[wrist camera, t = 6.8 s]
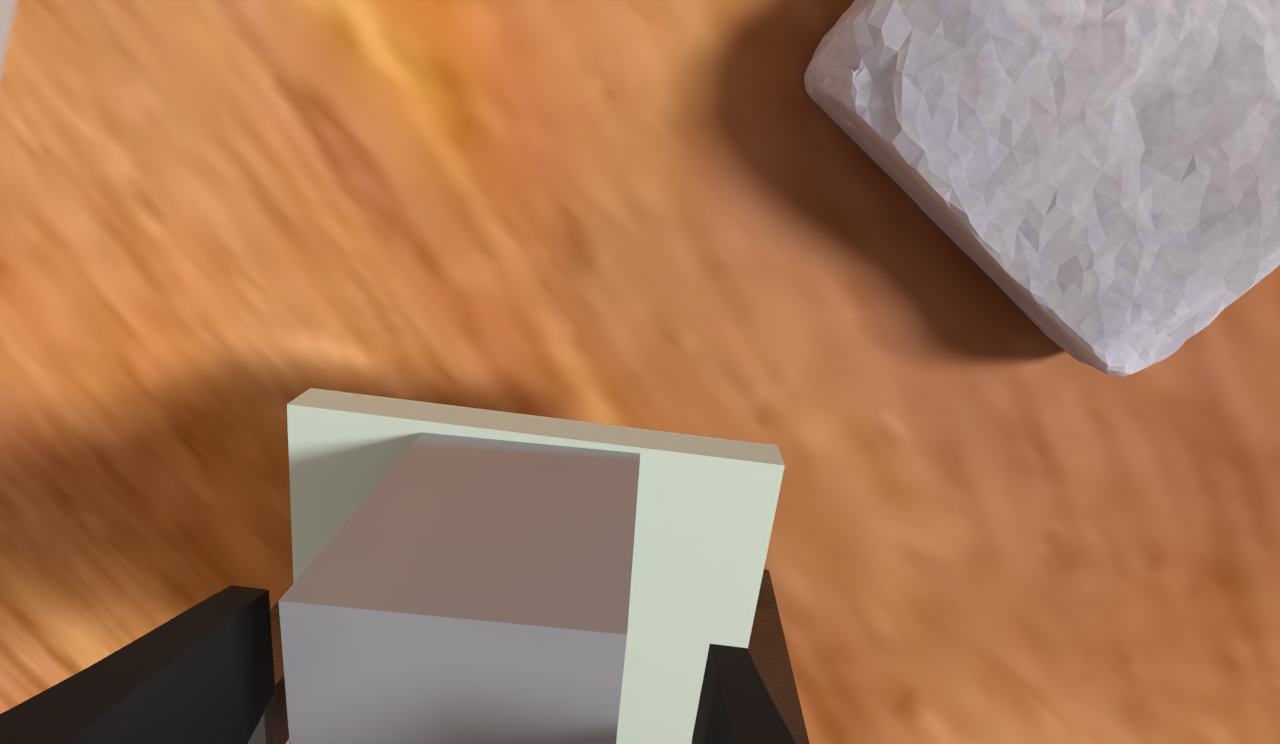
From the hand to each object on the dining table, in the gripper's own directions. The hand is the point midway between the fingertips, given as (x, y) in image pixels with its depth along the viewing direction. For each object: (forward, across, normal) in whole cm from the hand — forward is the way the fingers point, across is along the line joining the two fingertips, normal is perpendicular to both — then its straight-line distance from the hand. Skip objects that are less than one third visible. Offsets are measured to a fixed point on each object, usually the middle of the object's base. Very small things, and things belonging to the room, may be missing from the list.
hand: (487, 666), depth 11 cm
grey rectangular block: (+3, 0, 0) cm, 4 cm away
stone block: (+11, -12, -11) cm, 20 cm away
